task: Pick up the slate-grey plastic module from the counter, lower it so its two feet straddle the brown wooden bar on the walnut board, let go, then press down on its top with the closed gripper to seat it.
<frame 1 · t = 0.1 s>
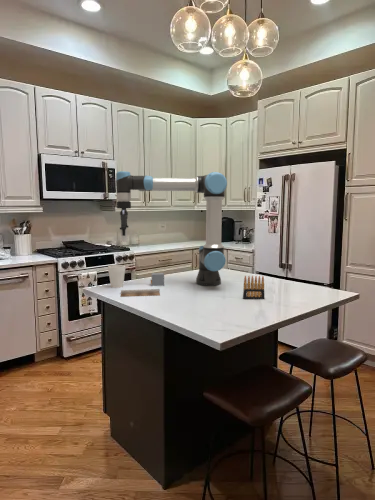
hand: (124, 240, 193), 28 cm above the countertop, tool pointing down, fingers open, 13 cm apart
ammunition clip: (253, 299, 181), on the countertop
module: (157, 287, 205), on the countertop
brown wooden bar: (140, 292, 186), resting on rail board
rail board: (140, 295, 186), on the countertop
foam cup: (117, 289, 201), on the countertop
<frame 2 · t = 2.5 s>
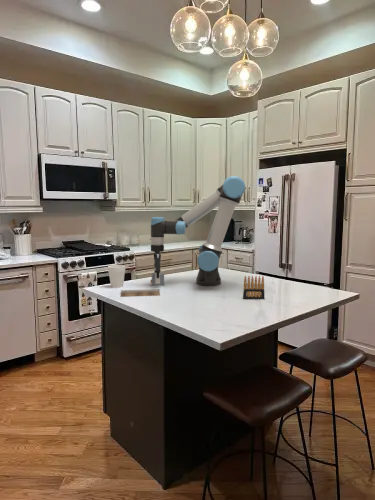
hand: (157, 281, 205), 4 cm above the countertop, tool pointing down, fingers open, 13 cm apart
nothing on the countertop moved.
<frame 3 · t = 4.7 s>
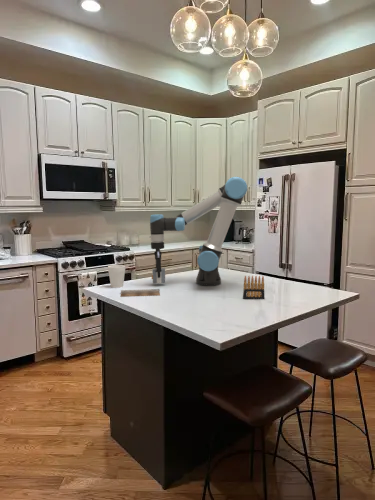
hand: (158, 281, 205), 3 cm above the countertop, tool pointing down, fingers closed on module, 5 cm apart
module: (159, 282, 205), point 3 cm above the countertop, touching gripper
everything else where it was.
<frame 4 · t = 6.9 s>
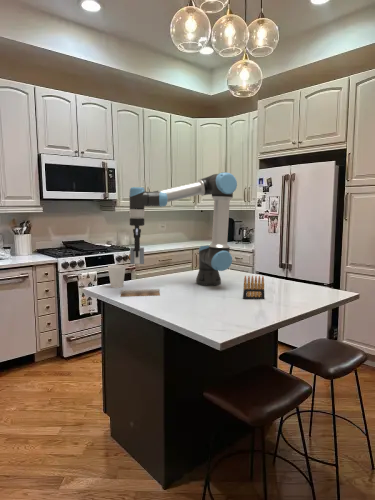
hand: (137, 262, 186), 17 cm above the countertop, tool pointing down, fingers closed on module, 5 cm apart
module: (137, 263, 186), point 17 cm above the countertop, touching gripper
everything else where it was.
when the fingers open (2 cm above the countertop, at t = 9.3 s): module stays where it is, resting on rail board.
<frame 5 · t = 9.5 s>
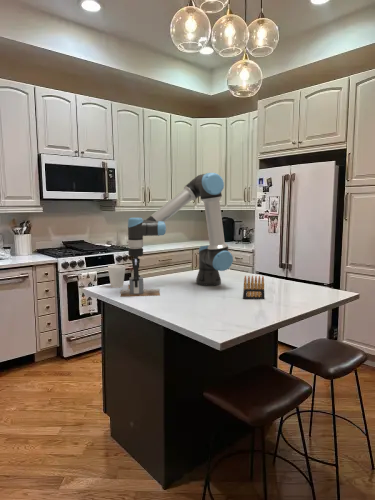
hand: (136, 291, 186), 2 cm above the countertop, tool pointing down, fingers open, 7 cm apart
module: (136, 293, 186), point 1 cm above the countertop, touching rail board
everything else where it was.
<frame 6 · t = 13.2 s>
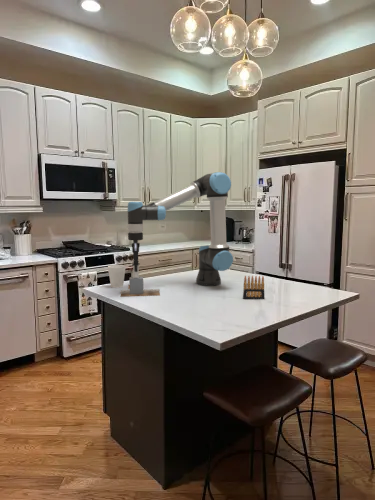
hand: (136, 277, 185), 10 cm above the countertop, tool pointing down, fingers closed
module: (136, 293, 186), point 1 cm above the countertop, touching gripper, rail board
everything else where it was.
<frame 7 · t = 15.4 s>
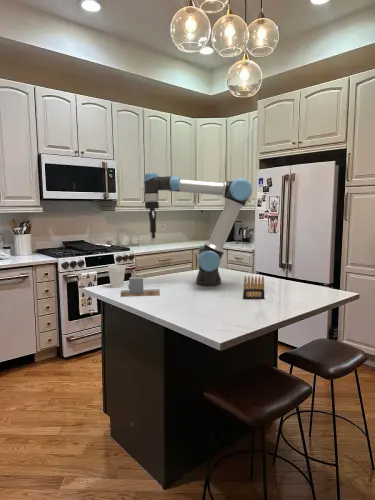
hand: (153, 243, 201), 25 cm above the countertop, tool pointing down, fingers closed
module: (136, 293, 186), point 1 cm above the countertop, touching rail board
everything else where it was.
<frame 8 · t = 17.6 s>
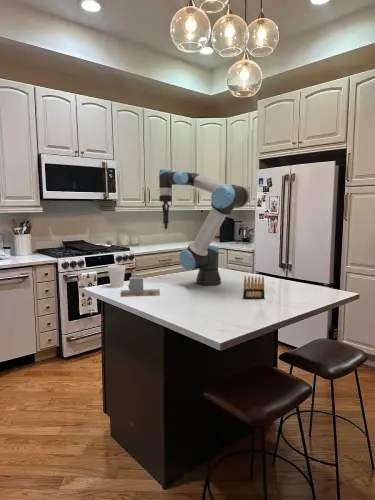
hand: (165, 233, 219), 29 cm above the countertop, tool pointing down, fingers closed
nothing on the countertop moved.
at the end: module inside the target area on the brown wooden bar (2.0 cm from its centre), point 0.0 cm above the brown wooden bar's base; module tilted 0°; the gripper is holding nothing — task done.
